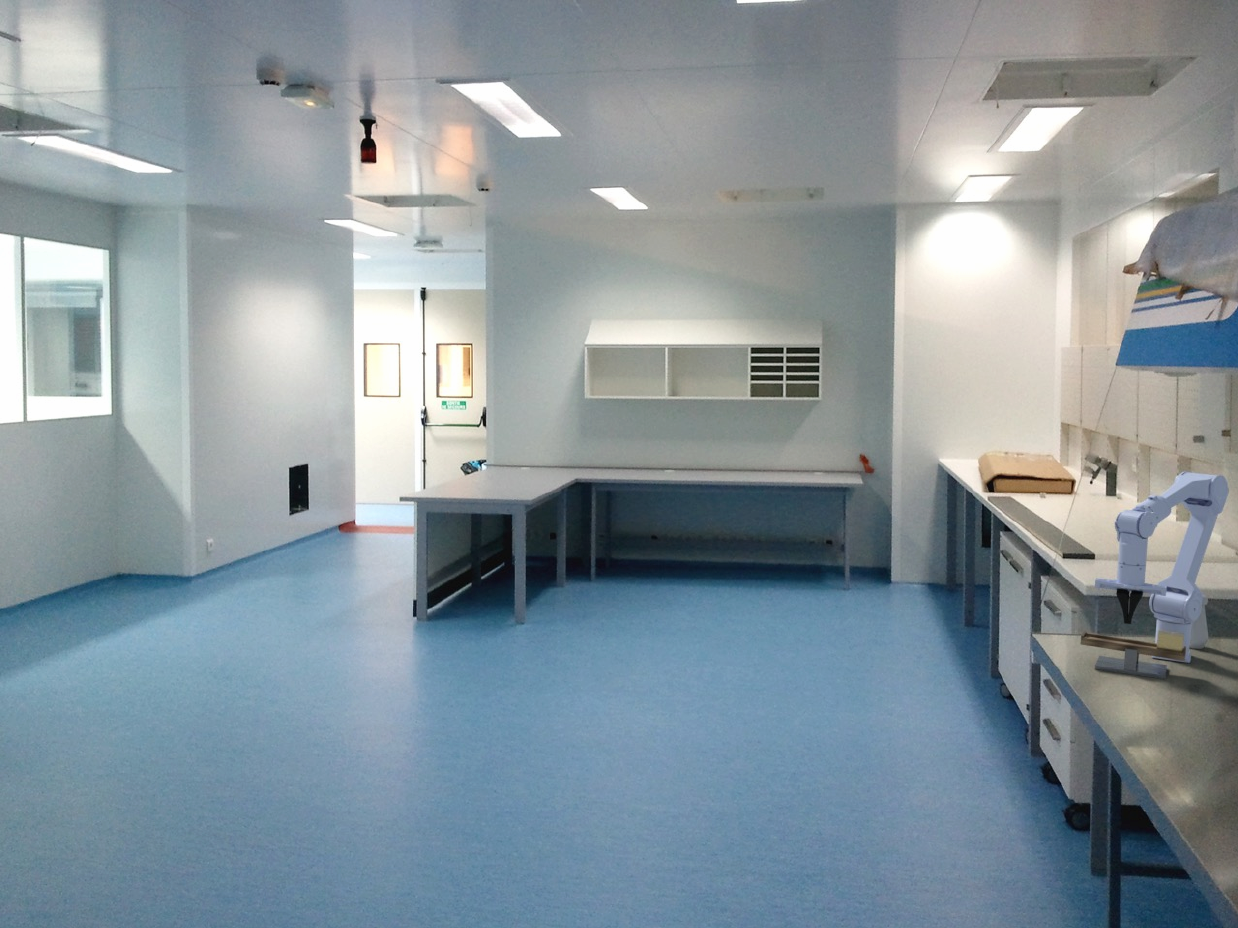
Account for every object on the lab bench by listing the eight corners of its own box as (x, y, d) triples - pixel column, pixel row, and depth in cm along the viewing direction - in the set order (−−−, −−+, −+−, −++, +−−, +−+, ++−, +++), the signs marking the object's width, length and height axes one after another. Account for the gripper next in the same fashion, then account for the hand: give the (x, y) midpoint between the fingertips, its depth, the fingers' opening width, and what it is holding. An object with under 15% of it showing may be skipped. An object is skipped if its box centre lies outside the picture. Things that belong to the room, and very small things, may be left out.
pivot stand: (1099, 658, 249) (1100, 636, 249) (1166, 668, 242) (1168, 645, 242) (1094, 668, 240) (1096, 645, 240) (1164, 679, 234) (1166, 654, 233)
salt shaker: (1210, 650, 260) (1215, 597, 259) (1185, 648, 261) (1189, 596, 260) (1202, 644, 266) (1206, 592, 265) (1177, 642, 267) (1181, 591, 266)
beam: (1079, 648, 243) (1081, 636, 243) (1083, 642, 249) (1084, 630, 249) (1184, 665, 233) (1185, 652, 233) (1184, 658, 239) (1186, 645, 239)
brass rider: (1157, 647, 240) (1158, 629, 240) (1182, 651, 238) (1184, 633, 237) (1156, 650, 237) (1158, 632, 237) (1181, 654, 235) (1183, 636, 234)
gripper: (1095, 562, 242) (1091, 621, 243) (1167, 570, 235) (1162, 630, 236) (1098, 558, 248) (1094, 615, 249) (1168, 565, 241) (1164, 624, 242)
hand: (1127, 622), depth 243 cm, fingers closed
